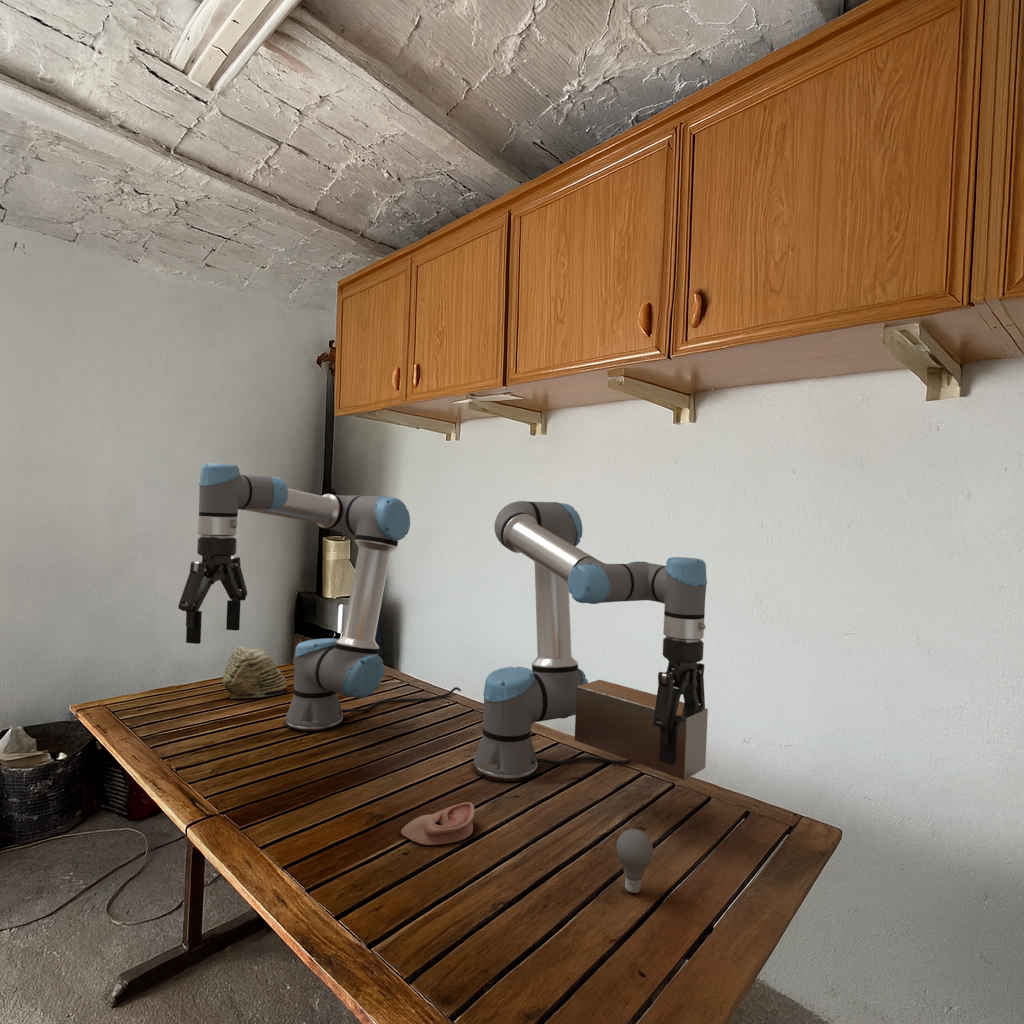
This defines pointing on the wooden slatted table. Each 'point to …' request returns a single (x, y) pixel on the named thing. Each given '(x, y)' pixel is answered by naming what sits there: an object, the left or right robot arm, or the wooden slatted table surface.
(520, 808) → the wooden slatted table surface
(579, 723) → the box
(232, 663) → the fossil
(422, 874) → the wooden slatted table surface
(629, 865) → the light bulb
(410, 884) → the wooden slatted table surface
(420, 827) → the anatomical model
